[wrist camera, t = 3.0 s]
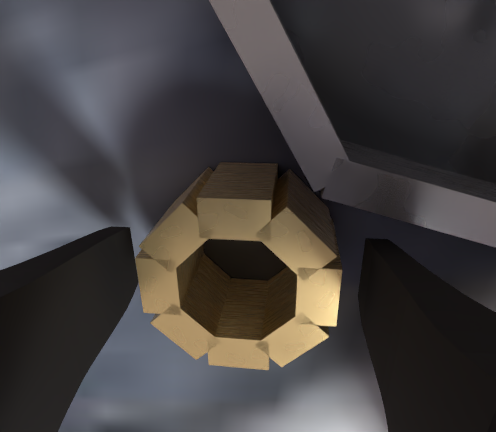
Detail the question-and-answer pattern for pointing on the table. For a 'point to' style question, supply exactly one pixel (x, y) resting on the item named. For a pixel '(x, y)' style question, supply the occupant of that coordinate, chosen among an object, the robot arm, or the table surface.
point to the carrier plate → (382, 101)
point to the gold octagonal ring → (243, 290)
